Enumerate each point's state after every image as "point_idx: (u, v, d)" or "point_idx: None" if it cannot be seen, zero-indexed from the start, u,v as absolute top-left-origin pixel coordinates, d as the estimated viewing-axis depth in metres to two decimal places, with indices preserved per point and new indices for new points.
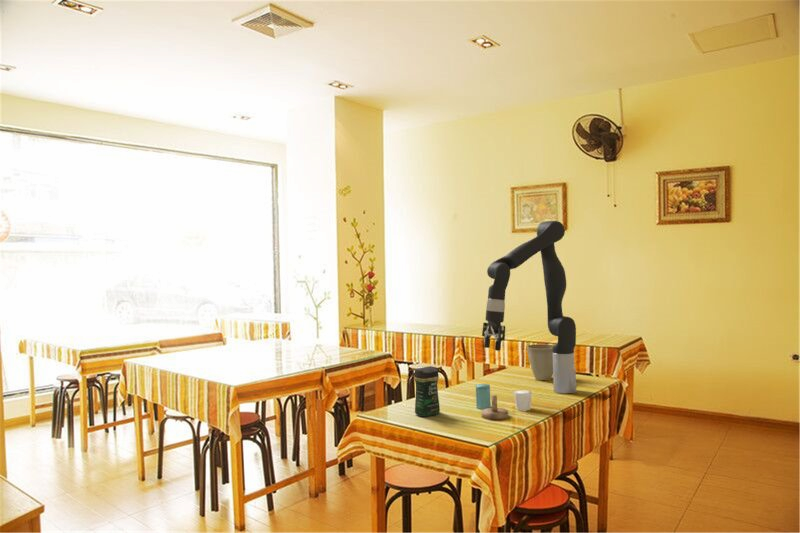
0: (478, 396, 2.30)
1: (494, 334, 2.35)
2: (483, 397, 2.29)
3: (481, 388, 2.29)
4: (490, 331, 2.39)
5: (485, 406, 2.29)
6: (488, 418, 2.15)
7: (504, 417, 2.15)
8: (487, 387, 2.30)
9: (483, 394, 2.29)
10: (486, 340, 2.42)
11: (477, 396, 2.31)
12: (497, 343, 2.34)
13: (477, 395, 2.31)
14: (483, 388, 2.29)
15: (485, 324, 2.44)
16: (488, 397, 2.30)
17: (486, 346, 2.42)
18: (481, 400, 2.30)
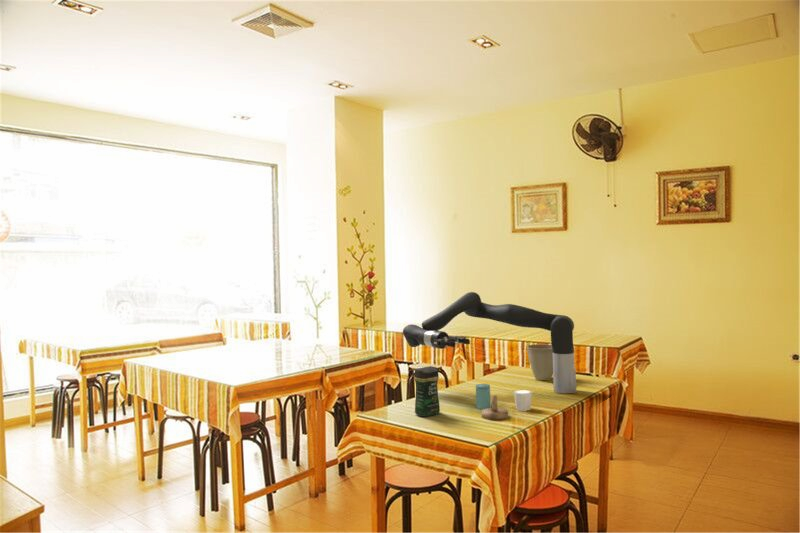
0: (478, 396, 2.30)
1: (445, 346, 2.43)
2: (483, 397, 2.29)
3: (481, 388, 2.29)
4: None
5: (485, 406, 2.29)
6: (488, 418, 2.15)
7: (504, 417, 2.15)
8: (487, 387, 2.30)
9: (483, 394, 2.29)
10: (463, 342, 2.45)
11: (477, 396, 2.31)
12: (449, 345, 2.40)
13: (477, 395, 2.31)
14: (483, 388, 2.29)
15: (455, 341, 2.51)
16: (488, 397, 2.30)
17: (467, 342, 2.43)
18: (481, 400, 2.30)
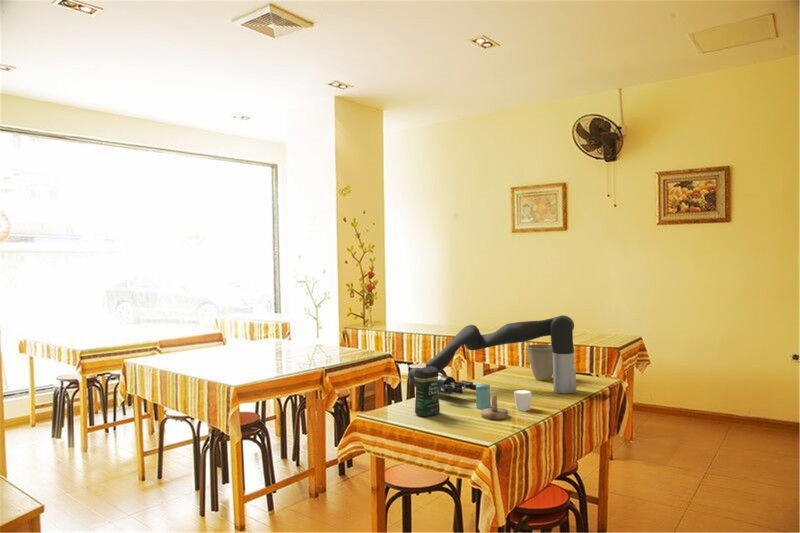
0: (478, 396, 2.30)
1: None
2: (483, 397, 2.29)
3: (481, 388, 2.29)
4: None
5: (485, 406, 2.29)
6: (488, 418, 2.15)
7: (504, 417, 2.15)
8: (487, 387, 2.30)
9: (483, 394, 2.29)
10: (470, 388, 2.43)
11: (477, 396, 2.31)
12: None
13: (477, 395, 2.31)
14: (483, 388, 2.29)
15: None
16: (488, 397, 2.30)
17: (475, 388, 2.41)
18: (481, 400, 2.30)
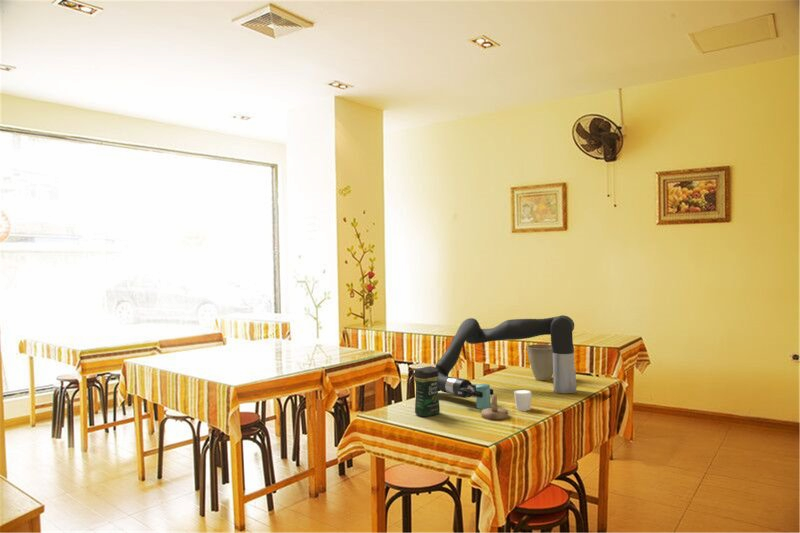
0: None
1: None
2: (483, 397, 2.29)
3: (481, 388, 2.29)
4: None
5: (485, 406, 2.29)
6: (488, 418, 2.15)
7: (504, 417, 2.15)
8: (487, 387, 2.30)
9: (483, 394, 2.29)
10: None
11: None
12: (476, 395, 2.30)
13: None
14: (483, 388, 2.29)
15: None
16: (488, 397, 2.30)
17: (491, 393, 2.32)
18: (481, 400, 2.30)
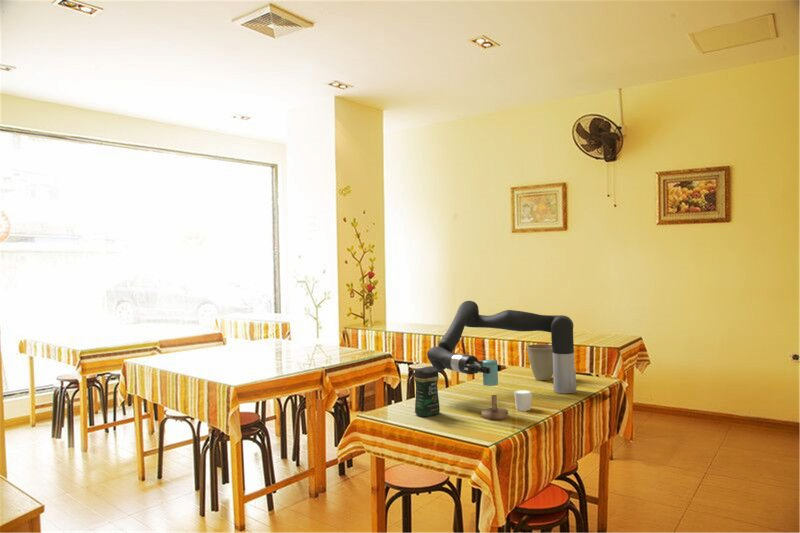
0: None
1: (477, 372, 2.22)
2: (490, 373, 2.18)
3: (488, 363, 2.18)
4: None
5: (492, 382, 2.18)
6: (488, 418, 2.15)
7: (504, 417, 2.15)
8: (494, 363, 2.18)
9: (490, 370, 2.18)
10: None
11: None
12: (483, 371, 2.19)
13: None
14: (490, 363, 2.18)
15: None
16: (495, 373, 2.19)
17: (499, 369, 2.21)
18: (488, 376, 2.18)
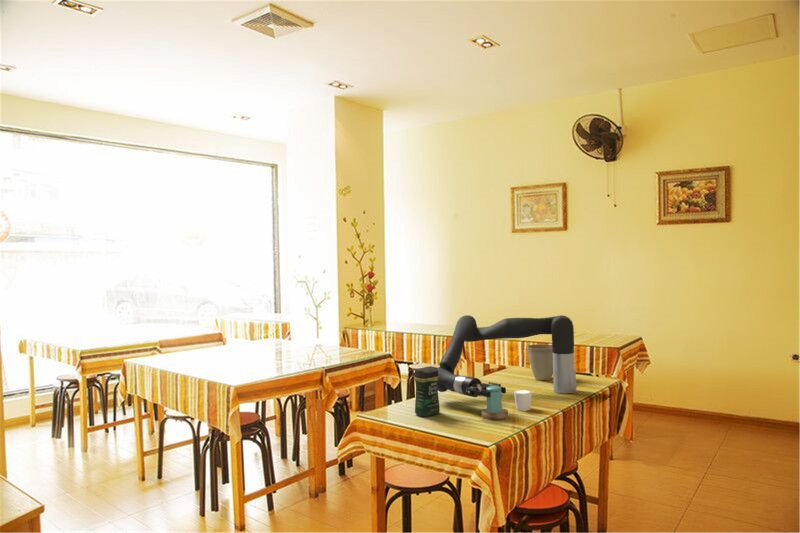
0: (489, 399, 2.17)
1: None
2: (494, 400, 2.16)
3: (492, 391, 2.16)
4: None
5: (496, 410, 2.16)
6: (488, 418, 2.15)
7: (504, 417, 2.15)
8: (498, 390, 2.16)
9: (494, 397, 2.16)
10: None
11: (488, 399, 2.17)
12: (483, 395, 2.16)
13: (488, 398, 2.17)
14: (494, 391, 2.16)
15: None
16: (499, 400, 2.17)
17: (503, 391, 2.20)
18: (492, 404, 2.16)
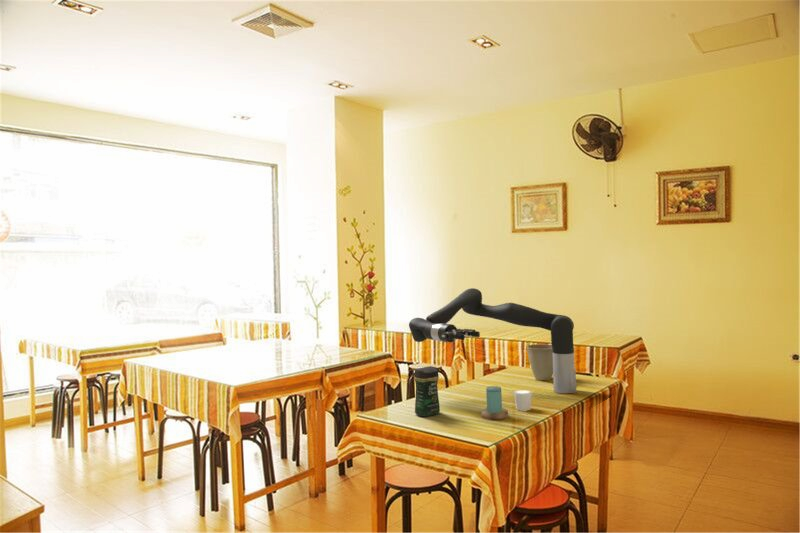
0: (489, 399, 2.17)
1: (453, 339, 2.30)
2: (494, 400, 2.16)
3: (492, 391, 2.16)
4: None
5: (496, 410, 2.16)
6: (488, 418, 2.15)
7: (504, 417, 2.15)
8: (498, 390, 2.16)
9: (494, 397, 2.16)
10: (473, 335, 2.32)
11: (488, 399, 2.17)
12: None
13: (488, 398, 2.17)
14: (494, 391, 2.16)
15: (464, 334, 2.38)
16: (499, 400, 2.17)
17: (477, 335, 2.30)
18: (492, 404, 2.16)
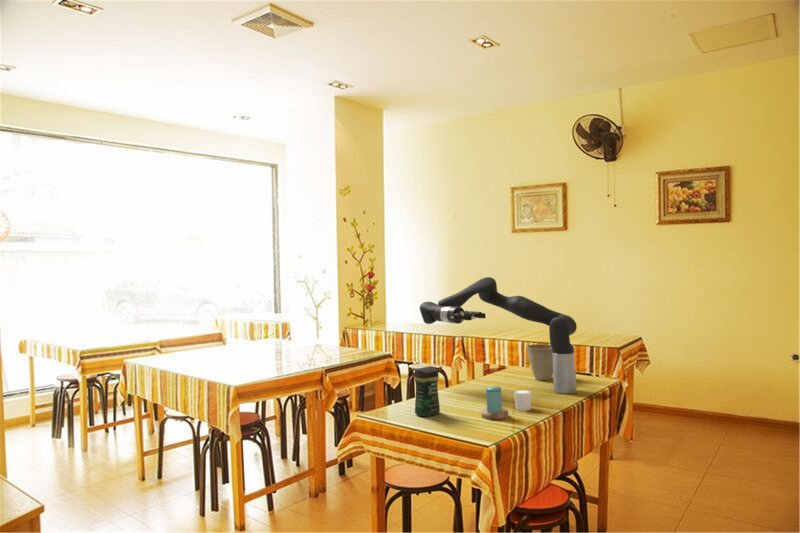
0: (489, 399, 2.17)
1: (461, 320, 2.50)
2: (494, 400, 2.16)
3: (492, 391, 2.16)
4: None
5: (496, 410, 2.16)
6: (488, 418, 2.15)
7: (504, 417, 2.15)
8: (498, 390, 2.16)
9: (494, 397, 2.16)
10: (479, 317, 2.52)
11: (488, 399, 2.17)
12: (465, 319, 2.46)
13: (488, 398, 2.17)
14: (494, 391, 2.16)
15: (471, 316, 2.58)
16: (499, 400, 2.17)
17: (483, 316, 2.50)
18: (492, 404, 2.16)
